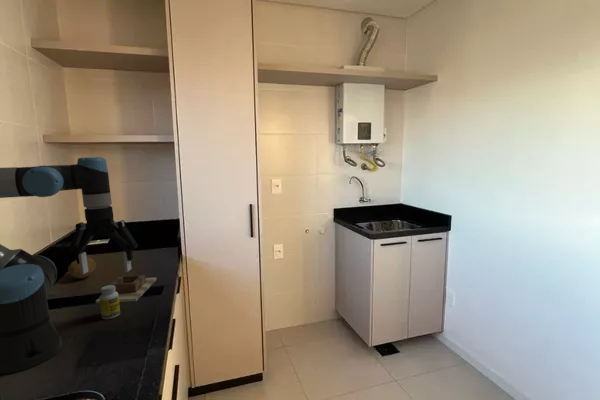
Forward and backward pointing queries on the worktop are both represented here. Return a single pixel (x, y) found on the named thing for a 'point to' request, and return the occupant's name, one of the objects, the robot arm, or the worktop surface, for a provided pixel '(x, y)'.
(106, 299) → the supplement bottle
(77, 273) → the potato
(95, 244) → the worktop surface
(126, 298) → the collar board
